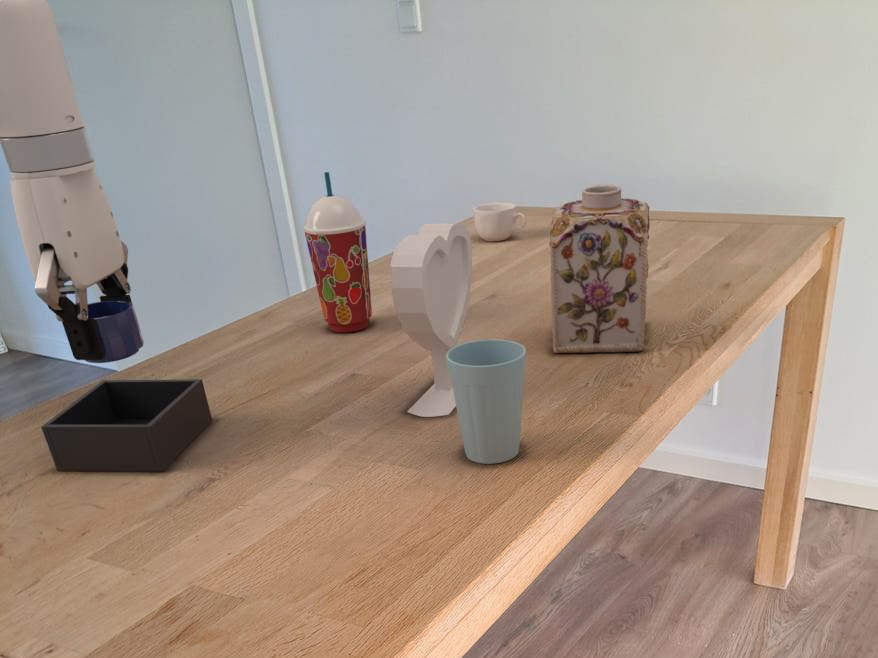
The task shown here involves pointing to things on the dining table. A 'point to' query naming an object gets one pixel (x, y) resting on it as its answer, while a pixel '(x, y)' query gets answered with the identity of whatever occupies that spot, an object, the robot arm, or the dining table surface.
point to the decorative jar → (599, 272)
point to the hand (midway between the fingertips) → (108, 344)
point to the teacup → (496, 220)
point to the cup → (488, 397)
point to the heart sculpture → (433, 301)
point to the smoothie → (339, 261)
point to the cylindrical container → (116, 329)
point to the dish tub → (128, 425)
